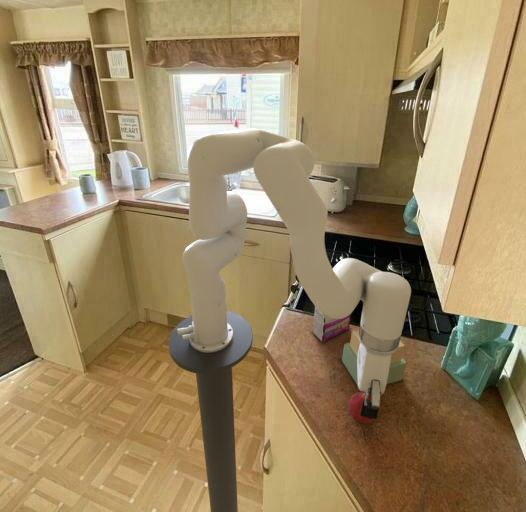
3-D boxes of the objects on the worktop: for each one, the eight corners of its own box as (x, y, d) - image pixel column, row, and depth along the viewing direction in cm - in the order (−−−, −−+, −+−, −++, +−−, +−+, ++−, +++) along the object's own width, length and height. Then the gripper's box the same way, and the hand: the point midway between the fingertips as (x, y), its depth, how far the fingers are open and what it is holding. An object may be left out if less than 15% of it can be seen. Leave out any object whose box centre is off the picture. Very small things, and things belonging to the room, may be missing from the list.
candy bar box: (338, 319, 101) (344, 276, 94) (349, 329, 97) (356, 284, 90) (311, 332, 95) (315, 288, 88) (322, 343, 91) (327, 297, 84)
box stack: (361, 391, 77) (368, 358, 72) (341, 360, 86) (346, 329, 81) (402, 379, 80) (411, 347, 76) (379, 351, 89) (386, 320, 84)
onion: (342, 419, 70) (346, 394, 67) (354, 401, 74) (358, 377, 71) (366, 436, 67) (372, 411, 64) (377, 417, 71) (383, 392, 68)
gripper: (358, 303, 69) (349, 361, 76) (360, 365, 53) (349, 430, 60) (394, 308, 67) (381, 367, 74) (407, 373, 52) (390, 439, 59)
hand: (367, 395), depth 67 cm, fingers open, 9 cm apart
